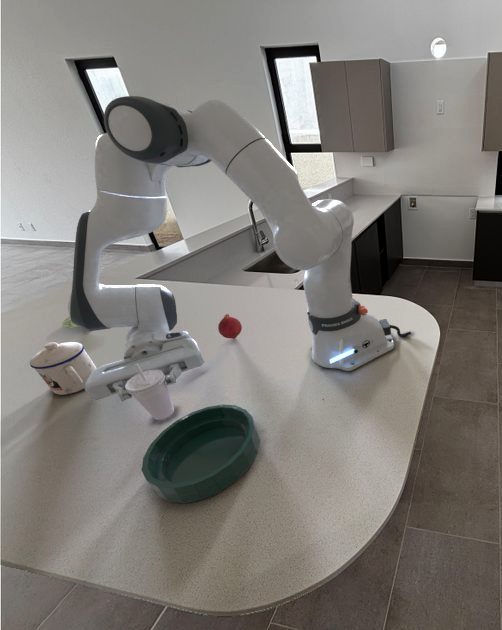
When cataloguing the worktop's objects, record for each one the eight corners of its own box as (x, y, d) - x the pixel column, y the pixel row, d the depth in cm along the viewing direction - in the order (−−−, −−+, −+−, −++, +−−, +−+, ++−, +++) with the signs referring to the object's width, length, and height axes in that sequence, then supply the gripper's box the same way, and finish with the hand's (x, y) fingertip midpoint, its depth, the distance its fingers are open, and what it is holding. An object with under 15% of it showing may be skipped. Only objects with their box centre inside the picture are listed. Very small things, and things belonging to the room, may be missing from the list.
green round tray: (253, 409, 73) (247, 393, 71) (267, 472, 60) (260, 455, 58) (157, 444, 66) (146, 427, 63) (150, 525, 53) (136, 508, 50)
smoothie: (154, 429, 68) (122, 378, 60) (140, 416, 71) (107, 366, 63) (187, 409, 72) (160, 359, 65) (172, 398, 75) (145, 349, 68)
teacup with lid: (47, 386, 80) (16, 347, 74) (94, 365, 86) (69, 328, 80) (62, 407, 74) (30, 367, 68) (112, 383, 80) (86, 345, 74)
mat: (91, 333, 99) (88, 327, 98) (54, 332, 99) (50, 327, 98) (121, 313, 109) (118, 308, 108) (87, 313, 109) (84, 308, 108)
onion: (236, 345, 94) (227, 321, 89) (218, 342, 95) (208, 319, 90) (249, 333, 98) (241, 310, 94) (231, 331, 99) (223, 308, 95)
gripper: (83, 359, 70) (71, 399, 60) (194, 328, 80) (199, 359, 70) (98, 382, 73) (90, 423, 64) (203, 349, 83) (210, 381, 73)
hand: (148, 389), depth 67 cm, fingers closed on smoothie, 6 cm apart
